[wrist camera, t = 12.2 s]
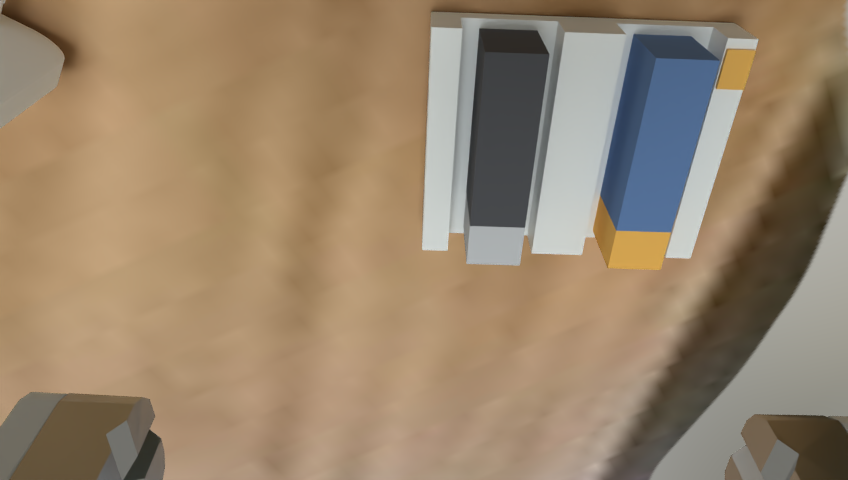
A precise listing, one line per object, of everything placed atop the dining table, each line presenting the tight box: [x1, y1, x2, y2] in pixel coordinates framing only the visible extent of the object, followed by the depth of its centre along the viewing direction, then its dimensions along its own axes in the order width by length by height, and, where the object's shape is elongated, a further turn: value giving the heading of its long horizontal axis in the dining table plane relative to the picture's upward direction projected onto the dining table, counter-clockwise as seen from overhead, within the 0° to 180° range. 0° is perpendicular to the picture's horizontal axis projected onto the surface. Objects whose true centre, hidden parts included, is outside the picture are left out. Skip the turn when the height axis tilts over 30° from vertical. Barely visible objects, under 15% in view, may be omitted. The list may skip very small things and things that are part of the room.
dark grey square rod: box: [463, 28, 550, 265], centre depth 35 cm, size 12×3×4 cm, turn 178°
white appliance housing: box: [422, 12, 759, 258], centre depth 37 cm, size 13×16×3 cm
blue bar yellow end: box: [593, 34, 720, 270], centre depth 36 cm, size 12×3×4 cm, turn 178°
